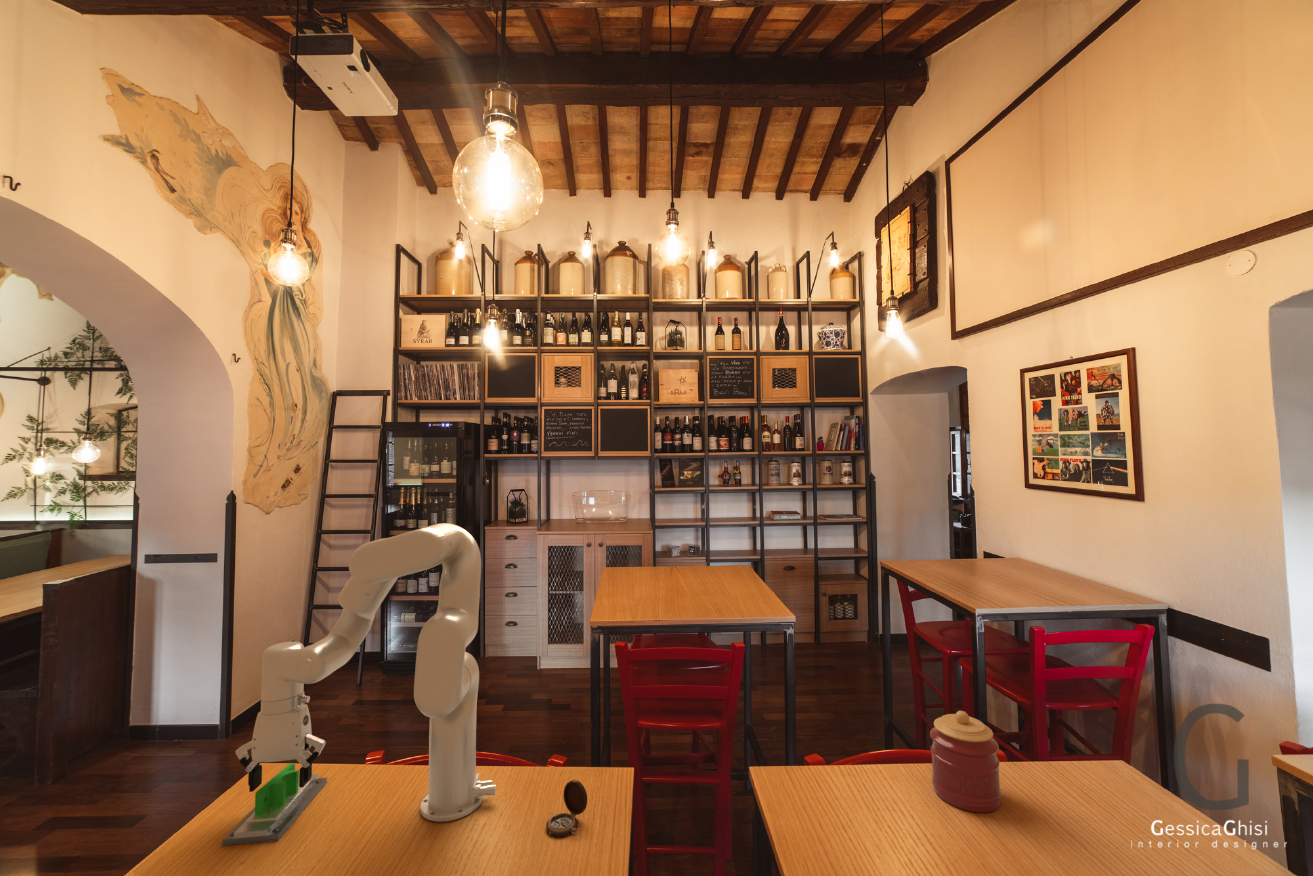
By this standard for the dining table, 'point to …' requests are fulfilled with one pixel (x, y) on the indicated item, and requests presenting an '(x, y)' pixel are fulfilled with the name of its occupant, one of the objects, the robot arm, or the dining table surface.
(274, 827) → the grey framed panel
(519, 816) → the dining table surface
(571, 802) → the compass
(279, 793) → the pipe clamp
